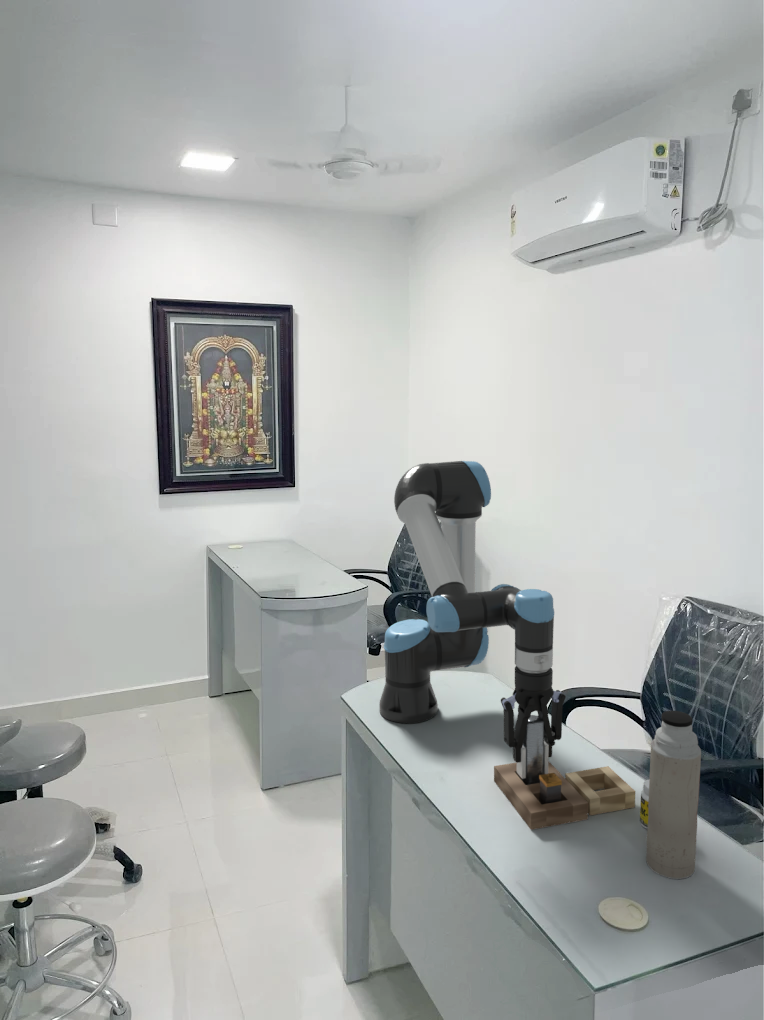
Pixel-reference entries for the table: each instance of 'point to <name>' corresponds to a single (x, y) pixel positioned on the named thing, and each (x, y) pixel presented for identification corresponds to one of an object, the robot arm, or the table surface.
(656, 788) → the thermos bottle
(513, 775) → the socket block
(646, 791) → the supplement bottle
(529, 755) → the grey metal cylinder
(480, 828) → the table surface
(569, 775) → the frame
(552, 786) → the key
